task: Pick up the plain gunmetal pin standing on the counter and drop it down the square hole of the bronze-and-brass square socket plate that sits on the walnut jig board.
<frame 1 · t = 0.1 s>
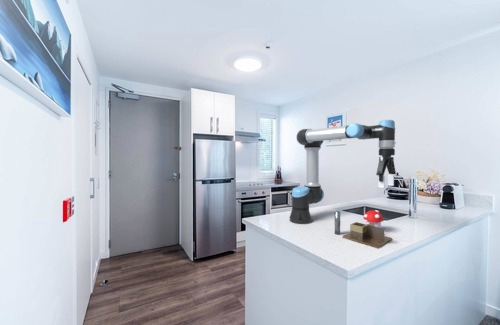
hand: (386, 186, 119), 28 cm above the countertop, fingers open, 13 cm apart
pin: (337, 233, 124), on the countertop
mushroom: (373, 230, 130), on the countertop
square socket plate: (359, 238, 117), on the countertop
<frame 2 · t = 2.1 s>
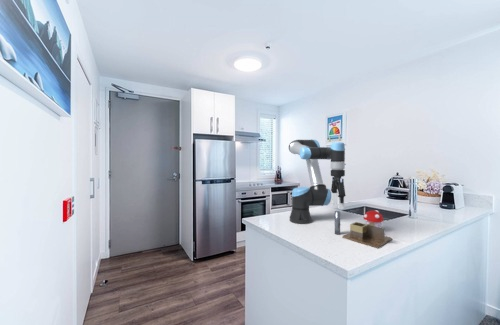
hand: (337, 206, 123), 16 cm above the countertop, fingers open, 13 cm apart
nothing on the countertop moved.
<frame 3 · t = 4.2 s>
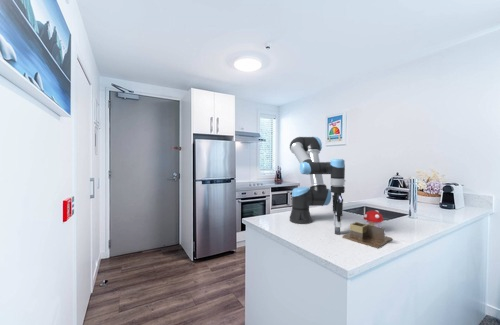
hand: (337, 226, 124), 5 cm above the countertop, fingers closed on pin, 3 cm apart
pin: (337, 233, 124), on the countertop, touching gripper
everything else where it was.
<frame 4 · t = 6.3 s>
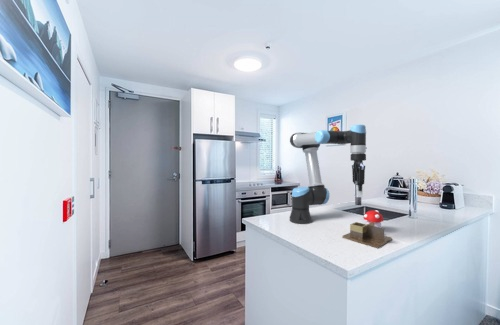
hand: (358, 196, 117), 23 cm above the countertop, fingers closed on pin, 3 cm apart
pin: (358, 204, 117), point 18 cm above the countertop, touching gripper
everything else where it was.
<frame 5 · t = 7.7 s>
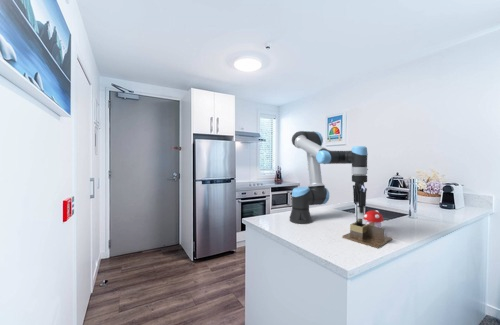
hand: (359, 217, 117), 11 cm above the countertop, fingers closed on pin, 3 cm apart
pin: (359, 225, 117), point 7 cm above the countertop, touching gripper
everything else where it was.
when the fingers open (9 cm above the countertop, at t = 8.7 s): pin drops 3 cm, resting on square socket plate.
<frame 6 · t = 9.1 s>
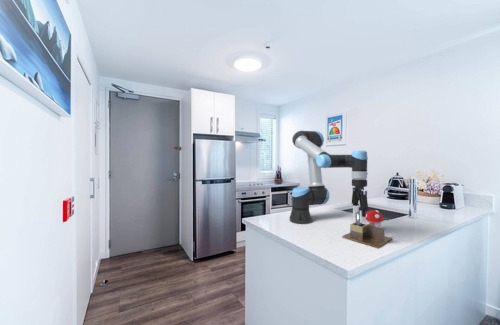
hand: (359, 219, 117), 10 cm above the countertop, fingers open, 9 cm apart
pin: (359, 236, 117), point 1 cm above the countertop, touching square socket plate
everything else where it was.
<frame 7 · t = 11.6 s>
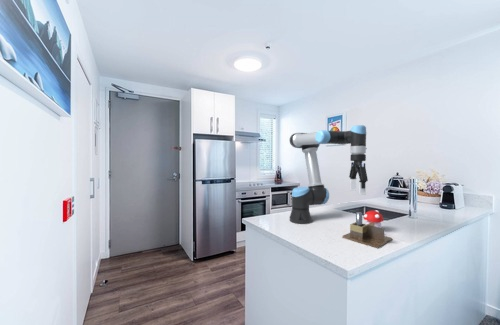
hand: (357, 192, 118), 25 cm above the countertop, fingers open, 13 cm apart
nothing on the countertop moved.
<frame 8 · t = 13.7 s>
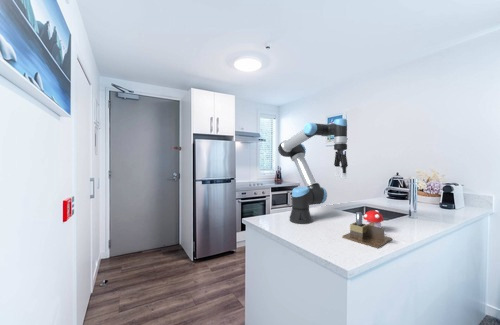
hand: (340, 177, 135), 32 cm above the countertop, fingers open, 13 cm apart
nothing on the countertop moved.
at the end: pin 0.0 cm off-centre on the square socket plate, point 1.0 cm above the square socket plate's base; pin tilted 0°; the gripper is holding nothing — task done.
